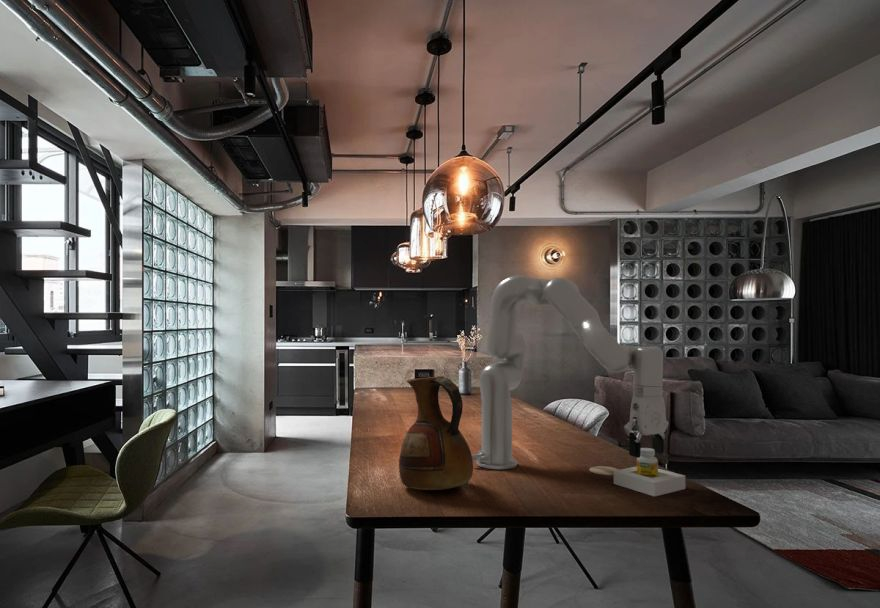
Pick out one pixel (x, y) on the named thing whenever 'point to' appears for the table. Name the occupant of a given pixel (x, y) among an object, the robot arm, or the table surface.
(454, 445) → the ceramic pitcher
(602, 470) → the cork coaster
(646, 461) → the supplement bottle
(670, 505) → the table surface
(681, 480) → the socket block
